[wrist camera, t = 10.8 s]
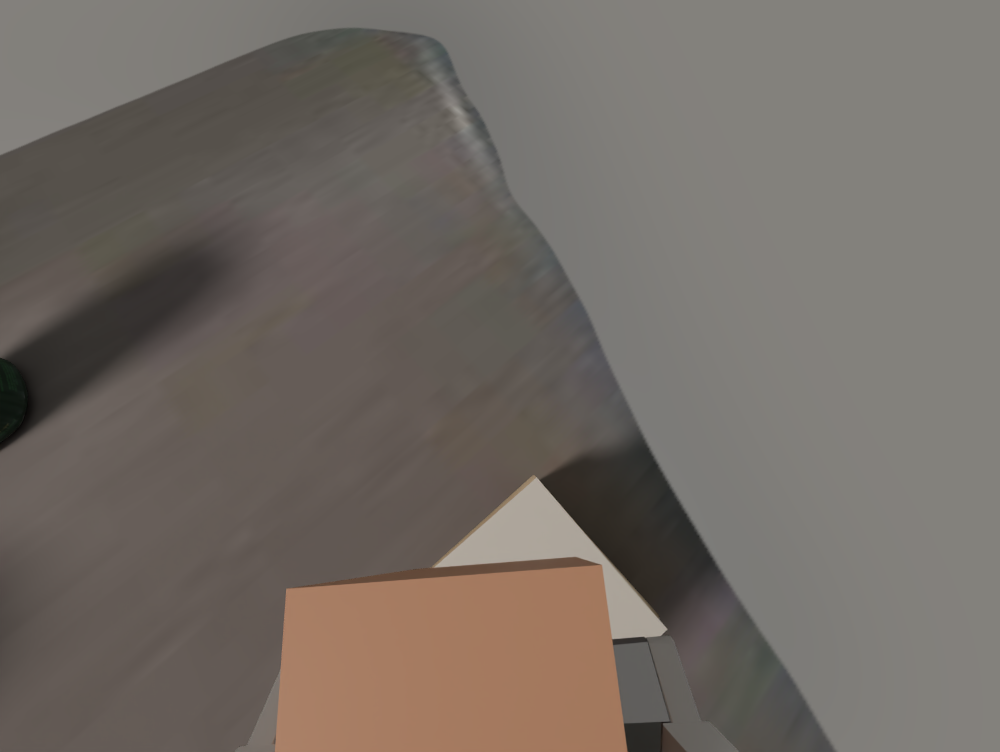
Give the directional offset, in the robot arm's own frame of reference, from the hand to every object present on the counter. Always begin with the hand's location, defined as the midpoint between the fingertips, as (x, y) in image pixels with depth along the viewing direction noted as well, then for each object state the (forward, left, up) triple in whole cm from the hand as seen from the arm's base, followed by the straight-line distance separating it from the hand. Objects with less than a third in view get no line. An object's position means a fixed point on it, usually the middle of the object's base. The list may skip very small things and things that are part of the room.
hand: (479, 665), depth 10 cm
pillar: (-1, 0, -4) cm, 4 cm away
